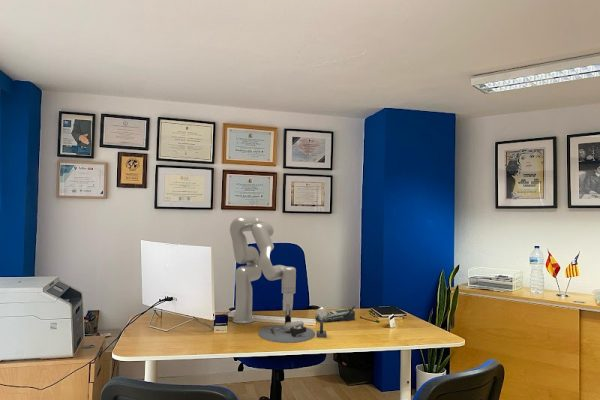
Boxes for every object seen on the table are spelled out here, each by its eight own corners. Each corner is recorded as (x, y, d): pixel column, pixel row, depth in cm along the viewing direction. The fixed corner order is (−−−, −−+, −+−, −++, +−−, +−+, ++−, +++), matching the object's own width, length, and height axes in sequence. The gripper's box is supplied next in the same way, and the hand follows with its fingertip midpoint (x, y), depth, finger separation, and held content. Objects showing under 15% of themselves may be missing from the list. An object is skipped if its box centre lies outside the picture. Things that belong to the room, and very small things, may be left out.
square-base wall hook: (315, 337, 207) (316, 308, 207) (315, 334, 212) (316, 305, 212) (327, 337, 207) (328, 308, 207) (326, 334, 212) (327, 305, 212)
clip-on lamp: (273, 343, 204) (307, 334, 206) (270, 331, 204) (305, 323, 206) (271, 333, 216) (304, 325, 218) (269, 322, 215) (301, 314, 217)
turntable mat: (255, 342, 197) (255, 341, 197) (261, 324, 227) (261, 323, 227) (316, 343, 197) (316, 343, 197) (314, 325, 227) (314, 325, 227)
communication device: (311, 319, 243) (311, 304, 243) (347, 315, 251) (347, 301, 251) (319, 324, 232) (319, 309, 232) (356, 321, 240) (356, 306, 240)
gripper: (282, 287, 226) (281, 320, 225) (280, 292, 211) (280, 328, 210) (295, 287, 226) (295, 320, 225) (295, 293, 211) (294, 328, 210)
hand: (287, 324), depth 218 cm, fingers closed
